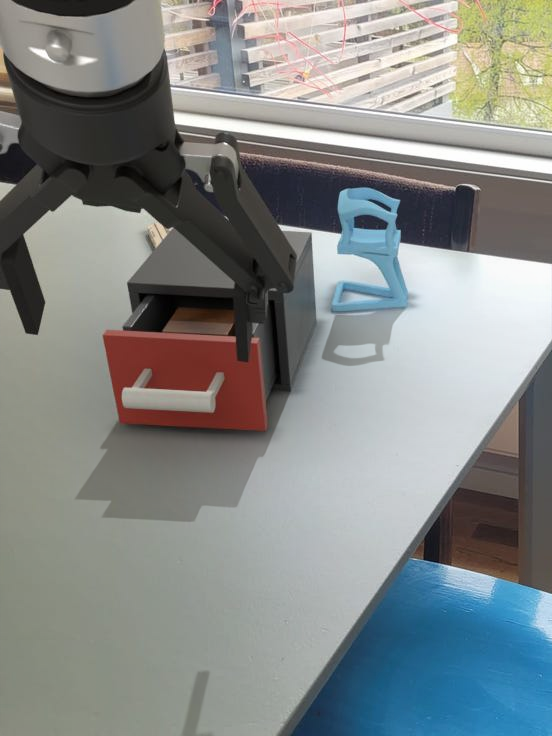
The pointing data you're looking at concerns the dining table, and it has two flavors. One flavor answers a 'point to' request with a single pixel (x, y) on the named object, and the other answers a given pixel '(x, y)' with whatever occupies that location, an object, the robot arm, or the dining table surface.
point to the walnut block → (202, 322)
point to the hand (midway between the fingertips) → (142, 332)
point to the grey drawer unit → (203, 278)
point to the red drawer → (190, 369)
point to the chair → (370, 249)
